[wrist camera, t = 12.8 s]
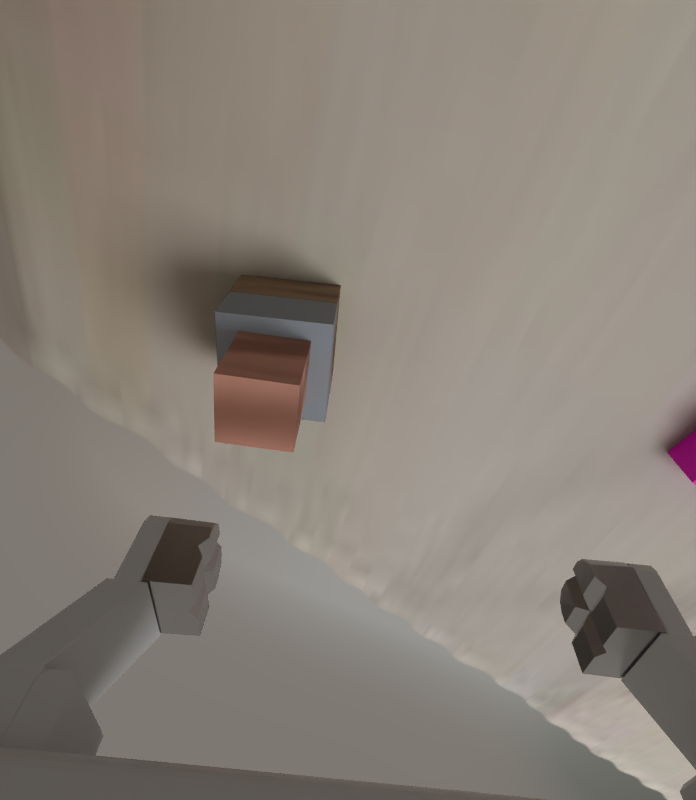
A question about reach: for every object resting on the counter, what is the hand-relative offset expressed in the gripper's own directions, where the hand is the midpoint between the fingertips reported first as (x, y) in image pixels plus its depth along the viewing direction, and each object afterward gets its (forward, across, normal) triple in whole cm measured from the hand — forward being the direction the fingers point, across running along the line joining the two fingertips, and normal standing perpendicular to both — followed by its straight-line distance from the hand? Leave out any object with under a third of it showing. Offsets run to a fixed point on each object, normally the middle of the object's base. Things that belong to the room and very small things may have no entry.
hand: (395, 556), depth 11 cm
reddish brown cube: (+22, +7, +9) cm, 25 cm away
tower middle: (+26, +7, +9) cm, 28 cm away
